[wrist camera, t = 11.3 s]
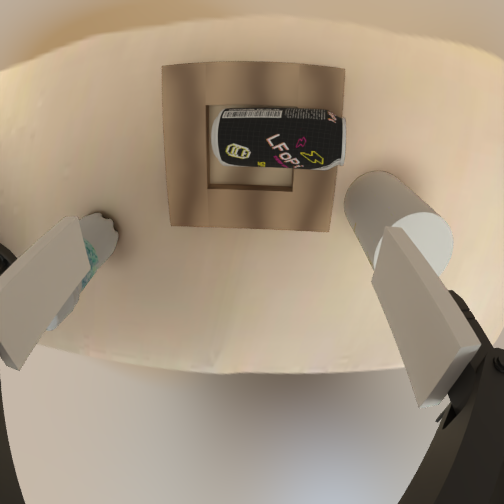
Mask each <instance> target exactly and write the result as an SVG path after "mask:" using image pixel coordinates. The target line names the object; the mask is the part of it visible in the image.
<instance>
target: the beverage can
mask: <svg viewBox="0 0 504 504" xmlns="http://www.w3.org/2000/svg"><path fill="white" fill-rule="evenodd" d="M211 143H212V149H213V152H214V154H215V156H216V157H217V158H218V160H219V162H220V163H221V164H222V165H223V166H242V167H273V168H293V169H309V170H323V171H325V170H329V169H331V168H332V167H334V166H337V165H341V166H343V165H344V160H345V148H346V120H345V118H344V117H342V118H340V117H338V116H336V115H335V114H333V113H332V112H331V111H329V110H323V109H305V108H226V109H223V110H222V111H221V112H220V113H219V115H218V117H217V118H216V119H215V120H214V123H213V126H212V132H211Z"/></svg>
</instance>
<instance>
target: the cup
mask: <svg viewBox="0 0 504 504" xmlns="http://www.w3.org/2000/svg"><path fill="white" fill-rule="evenodd" d="M344 210H345V214H346V217H347V219H348V221H349V223H350V225H351V227H352V229H353V230H354V232H355V234H356V236H357V238H358V240H359V242H360V244H361V246H362V248H363V250H364V252H365V254H366V256H367V258H368V260H369V262H370V264H371V266H372V268H373V270H375V266H376V262H377V258H378V254H379V250H380V246H381V242H382V238H383V233H384V229H385V226H390V227H401V228H402V229H403V230H404V231H405V233H406V234H407V235H408V236H409V238H410V239H411V240H412V242H413V243H414V244H415V245H416V247H417V248H418V249H419V251H420V252H421V253H422V255H423V256H424V257H425V259H426V260H427V261H428V263H429V264H430V266H431V267H432V268H433V270H434V271H435V273H436V274H437V275H438V277H439V276H440V274H441V273H442V272H443V271H444V269H445V268H446V266H447V265H448V263H449V260H450V258H451V255H452V251H453V235H452V231H451V229H450V227H449V225H448V224H447V222H446V221H445V220H444V219H443V218H442V217H441V216H440V215H439V214H437V213H436V212H435V211H434V210H433V209H432V208H431V207H430V206H429V205H428V204H427V203H425V202H424V201H423V200H422V199H421V198H420V197H419V196H417V195H416V194H415V193H414V192H413V191H412V190H411V189H409V188H408V187H407V186H406V185H405V184H403V183H402V182H401V181H400V180H399V179H397V178H396V177H395V176H393V175H392V174H390V173H387V172H384V171H372V172H368V173H366V174H363V175H362V176H360V177H359V178H357V179H356V180H355V181H354V182H353V183H352V184H351V186H350V187H349V189H348V191H347V193H346V196H345V201H344Z"/></svg>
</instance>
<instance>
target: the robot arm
mask: <svg viewBox="0 0 504 504" xmlns="http://www.w3.org/2000/svg"><path fill="white" fill-rule="evenodd" d="M90 269H91V267H90V263H89V260H88V256H87V252H86V248H85V245H84V241H83V237H82V232H81V228H80V224H79V219H78V216H65V217H64V218H63V219H62V220H60V221H59V222H58V223H57V224H56V225H54V226H53V227H52V228H51V229H50V230H49V231H47V232H46V233H45V234H44V235H43V236H42V237H41V238H40V239H38V240H37V241H36V242H35V243H34V244H33V245H32V246H31V247H30V248H29V249H27V250H26V251H25V252H24V253H23V254H22V255H21V256H20V257H19V258H18V259H17V258H16V257H15V256H14V254H13V253H12V252H11V251H10V250H9V249H7V248H6V247H5V246H3V245H2V244H0V357H1V358H2V360H3V361H4V363H5V364H6V366H8V367H11V368H13V369H16V370H18V371H20V369H21V368H22V366H23V364H24V363H25V361H26V360H27V358H28V356H29V355H30V353H31V352H32V350H33V348H34V347H35V345H36V344H37V342H38V341H39V339H40V338H41V336H42V335H43V333H44V332H45V330H46V329H47V327H48V326H49V324H50V323H51V321H52V320H53V319H54V317H55V316H56V314H57V313H58V312H59V310H60V309H61V307H62V306H63V305H64V303H65V302H66V300H67V299H68V298H69V296H70V295H71V294H72V292H73V291H74V290H75V288H76V287H77V286H78V284H79V283H80V282H81V280H82V279H83V278H84V277H85V275H86V274H87V273H88V271H89V270H90ZM371 282H372V285H373V287H374V289H375V292H376V294H377V296H378V299H379V301H380V303H381V306H382V308H383V311H384V313H385V315H386V318H387V320H388V323H389V325H390V328H391V330H392V333H393V336H394V338H395V341H396V343H397V346H398V349H399V351H400V354H401V357H402V360H403V362H404V365H405V368H406V371H407V374H408V376H409V379H410V382H411V385H412V388H413V391H414V394H415V397H416V401H417V404H418V407H419V408H424V407H429V406H435V405H439V404H440V402H441V401H442V400H443V399H444V397H445V396H446V395H447V394H448V396H449V398H450V401H451V402H450V404H449V405H448V406H447V407H446V408H445V410H444V411H443V412H442V413H441V414H440V415H439V417H438V418H437V419H436V422H439V421H440V419H441V418H442V420H441V422H440V425H439V427H438V429H437V431H436V434H435V436H434V438H433V440H432V442H431V444H430V447H429V449H428V451H427V453H426V455H425V457H424V459H423V461H422V463H421V464H420V466H419V468H418V470H417V472H416V474H415V476H414V477H413V479H412V481H411V483H410V485H409V486H408V488H407V490H406V491H405V493H404V495H403V496H402V498H401V499H400V501H399V502H398V504H504V350H503V349H500V348H493V346H492V344H491V343H490V341H489V339H488V338H487V336H486V334H485V333H484V331H483V330H482V328H481V326H480V325H479V323H478V322H477V320H475V317H474V315H473V314H472V312H471V311H469V310H470V309H469V308H468V306H467V305H466V303H465V302H464V300H463V299H462V298H461V297H460V296H459V295H457V294H456V293H455V292H454V291H453V290H447V288H446V287H445V285H444V284H443V283H442V281H441V280H440V278H439V277H438V275H437V274H436V273H435V271H434V270H433V268H432V267H431V266H430V264H429V263H428V261H427V260H426V259H425V257H424V256H423V255H422V253H421V252H420V251H419V249H418V248H417V247H416V245H415V244H414V243H413V242H412V240H411V239H410V238H409V236H408V235H407V234H406V233H405V231H404V230H403V229H402V228H401V227H390V226H385V229H384V233H383V238H382V242H381V246H380V250H379V254H378V258H377V262H376V266H375V270H374V274H373V277H372V281H371ZM0 504H25V502H24V499H23V496H22V492H21V489H20V486H19V483H18V479H17V476H16V472H15V468H14V464H13V460H12V455H11V451H10V446H9V441H8V436H7V430H6V424H5V417H4V410H3V402H2V393H1V381H0Z"/></svg>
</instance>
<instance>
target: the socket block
mask: <svg viewBox="0 0 504 504" xmlns="http://www.w3.org/2000/svg"><path fill="white" fill-rule="evenodd" d="M344 80H345V69H342V68H334V67H327V66H318V65H308V64H296V63H280V62H247V61H237V62H204V63H188V64H177V65H167V66H162V107H163V132H164V151H165V166H166V180H167V192H168V203H169V214H170V223H171V226H190V227H223V228H250V229H274V230H296V231H316V232H329V229H330V222H331V214H332V207H333V199H334V192H335V183H336V175H337V166H338V165H337V166H334V167H332V168H331V169H329V170H325V171H323V170H309V169H293V168H273V167H242V166H223V165H222V164H221V163H220V162H219V160H218V158H217V157H216V156H215V154H214V152H213V149H212V143H211V132H212V126H213V123H214V120H215V119H216V118H217V117H218V115H219V113H220V112H221V111H222V110H223V109H226V108H305V109H323V110H329V111H331V112H332V113H333V114H335V115H336V116H338V117H340V118H342V111H343V97H344Z"/></svg>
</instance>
